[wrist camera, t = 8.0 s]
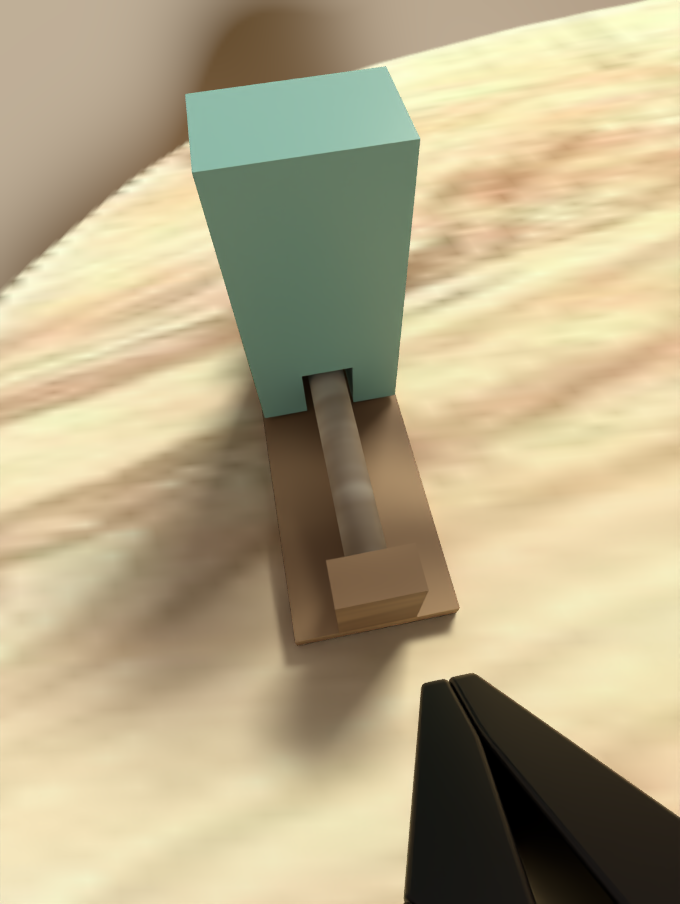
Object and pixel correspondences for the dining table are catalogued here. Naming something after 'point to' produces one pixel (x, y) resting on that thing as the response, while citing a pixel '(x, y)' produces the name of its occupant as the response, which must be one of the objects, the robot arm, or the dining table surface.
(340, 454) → the wooden stand
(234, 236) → the notched teal tower
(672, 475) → the dining table surface
